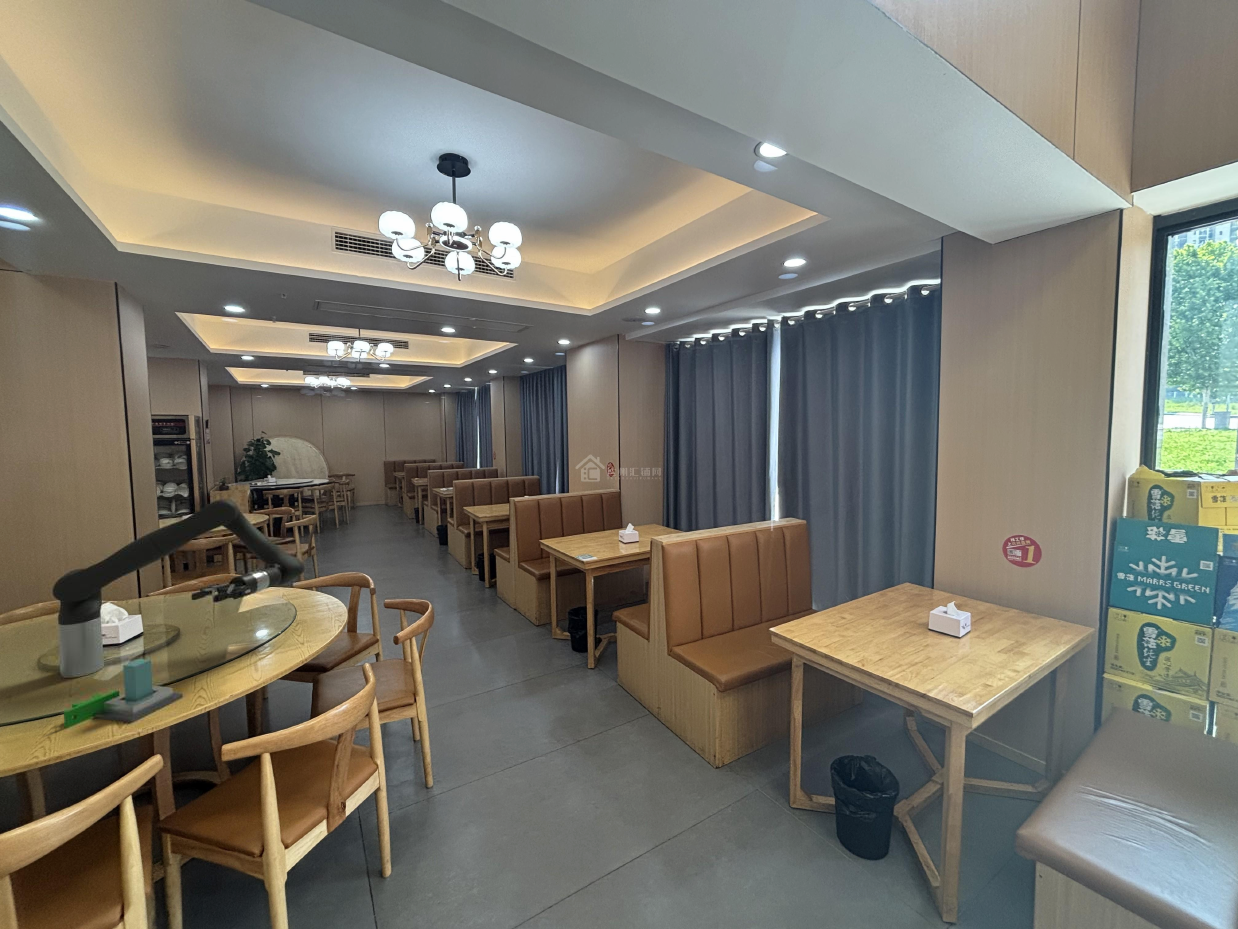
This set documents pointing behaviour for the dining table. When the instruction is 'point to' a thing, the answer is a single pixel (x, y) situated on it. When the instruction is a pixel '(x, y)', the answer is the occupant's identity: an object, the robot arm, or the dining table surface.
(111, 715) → the square socket plate
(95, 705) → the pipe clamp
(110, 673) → the dining table surface
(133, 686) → the teal square peg
